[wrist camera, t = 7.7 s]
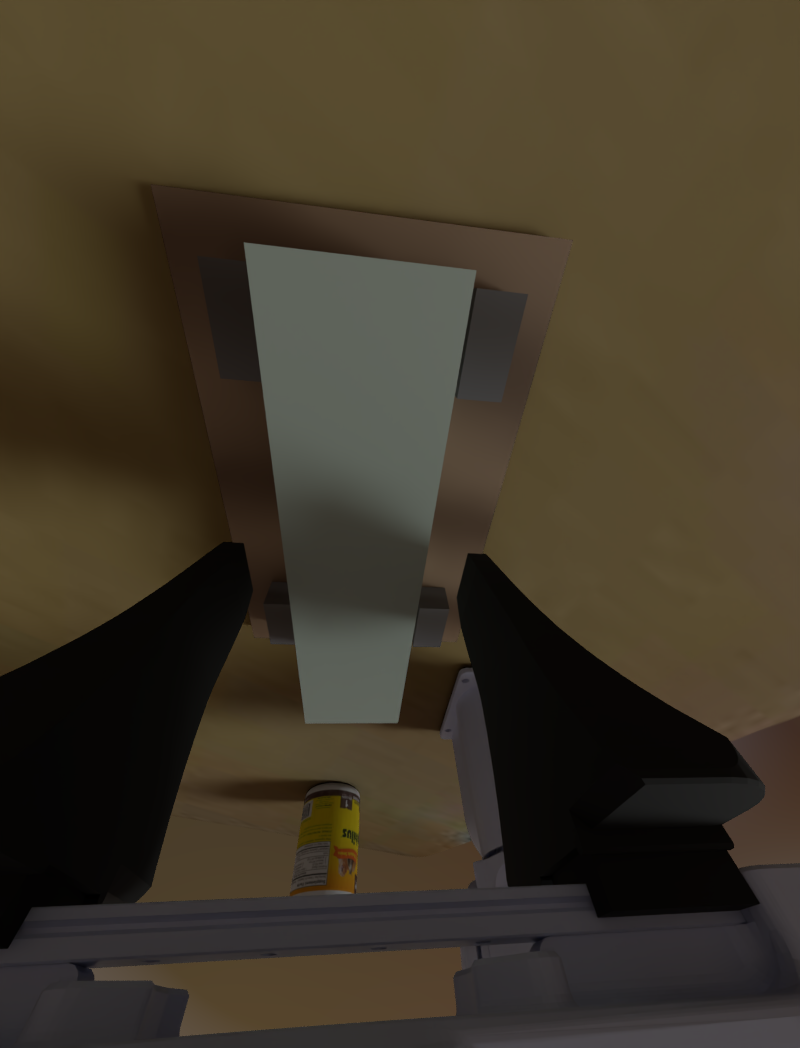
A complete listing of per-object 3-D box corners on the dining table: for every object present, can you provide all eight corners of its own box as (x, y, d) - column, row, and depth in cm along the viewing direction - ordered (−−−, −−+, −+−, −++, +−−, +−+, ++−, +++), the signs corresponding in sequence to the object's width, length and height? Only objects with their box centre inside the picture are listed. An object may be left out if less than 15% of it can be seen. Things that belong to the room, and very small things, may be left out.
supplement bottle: (366, 797, 36) (361, 951, 27) (315, 803, 36) (295, 958, 28) (353, 777, 33) (343, 943, 24) (298, 784, 33) (269, 950, 25)
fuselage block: (393, 623, 19) (397, 722, 15) (323, 621, 19) (305, 723, 14) (435, 282, 11) (476, 270, 6) (305, 267, 10) (243, 242, 6)
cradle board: (454, 631, 21) (461, 663, 19) (258, 626, 20) (245, 661, 18) (561, 244, 11) (599, 231, 9) (166, 191, 10) (114, 166, 8)
